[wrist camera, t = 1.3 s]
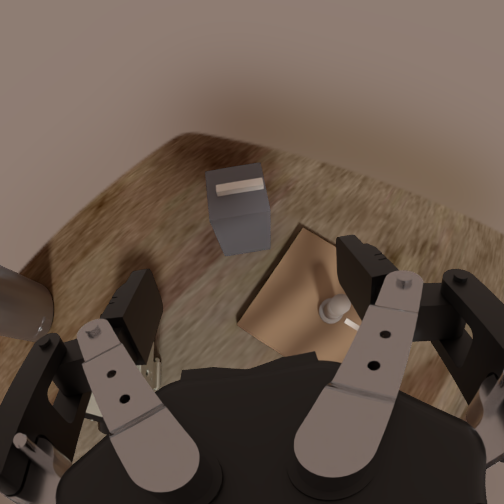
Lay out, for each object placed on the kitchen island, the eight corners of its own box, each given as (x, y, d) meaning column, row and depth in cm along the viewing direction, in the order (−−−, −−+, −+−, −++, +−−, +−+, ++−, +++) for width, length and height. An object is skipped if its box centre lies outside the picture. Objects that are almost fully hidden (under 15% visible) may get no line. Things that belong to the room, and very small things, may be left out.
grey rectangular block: (225, 256, 36) (207, 216, 26) (220, 216, 38) (203, 167, 28) (270, 248, 36) (270, 206, 26) (262, 208, 38) (260, 157, 28)
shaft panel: (237, 325, 33) (230, 319, 27) (301, 231, 37) (307, 207, 31) (352, 397, 29) (369, 405, 23) (407, 297, 33) (430, 285, 27)
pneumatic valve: (131, 415, 30) (77, 433, 18) (133, 324, 34) (79, 308, 22) (173, 422, 29) (129, 448, 18) (175, 327, 33) (131, 312, 22)
